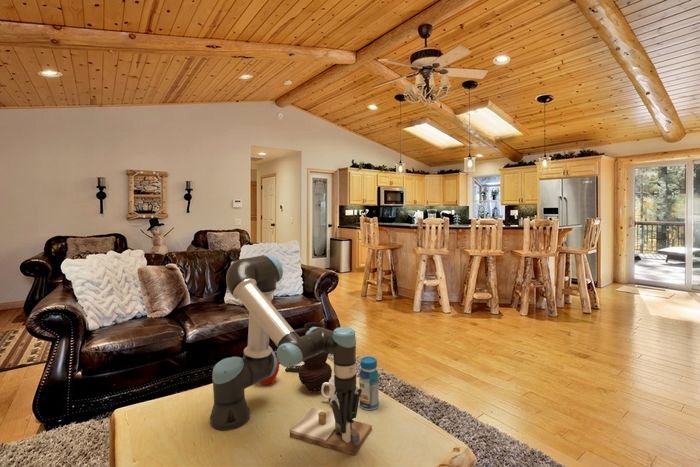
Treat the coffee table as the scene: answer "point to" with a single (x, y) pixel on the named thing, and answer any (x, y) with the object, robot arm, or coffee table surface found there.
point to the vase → (315, 367)
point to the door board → (327, 431)
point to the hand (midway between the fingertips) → (346, 440)
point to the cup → (331, 389)
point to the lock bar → (353, 434)
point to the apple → (271, 378)
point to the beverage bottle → (369, 384)
